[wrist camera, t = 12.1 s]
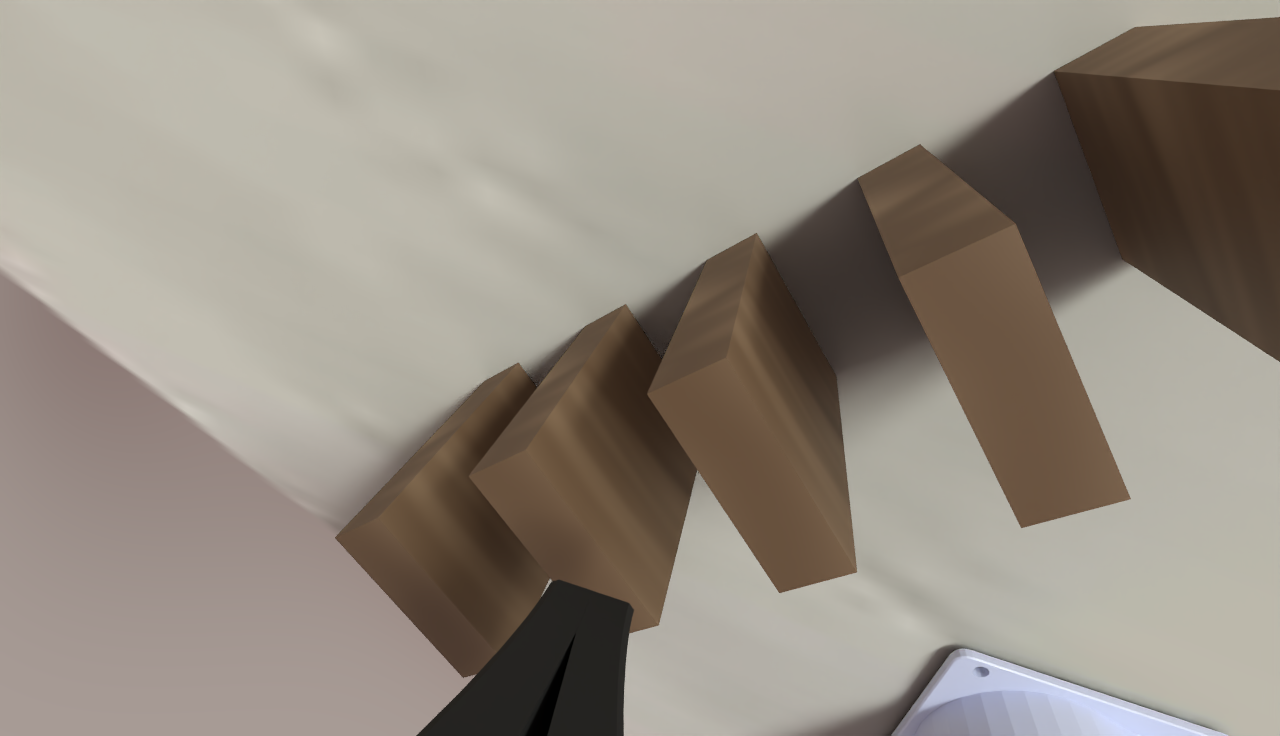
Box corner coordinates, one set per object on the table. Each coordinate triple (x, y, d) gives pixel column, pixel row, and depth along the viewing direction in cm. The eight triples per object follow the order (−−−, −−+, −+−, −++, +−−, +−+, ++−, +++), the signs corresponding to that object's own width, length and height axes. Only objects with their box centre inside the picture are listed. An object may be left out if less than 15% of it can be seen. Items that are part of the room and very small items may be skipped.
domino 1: (518, 362, 21) (378, 518, 14) (599, 474, 22) (508, 666, 15) (484, 380, 22) (334, 537, 15) (565, 487, 23) (463, 677, 16)
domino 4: (919, 144, 15) (1015, 223, 8) (994, 311, 17) (1131, 498, 10) (857, 178, 16) (898, 276, 9) (934, 336, 17) (1021, 527, 10)
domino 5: (1122, 259, 15) (1384, 430, 8) (1053, 71, 14) (1300, 92, 7) (1199, 227, 15) (1553, 386, 8) (1135, 26, 13) (1495, 2, 6)
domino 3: (756, 233, 17) (726, 357, 10) (836, 377, 19) (857, 572, 12) (707, 260, 18) (646, 394, 11) (787, 396, 19) (778, 593, 12)
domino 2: (626, 304, 19) (525, 449, 12) (706, 429, 20) (658, 625, 13) (585, 326, 20) (468, 476, 13) (666, 446, 21) (600, 641, 14)
